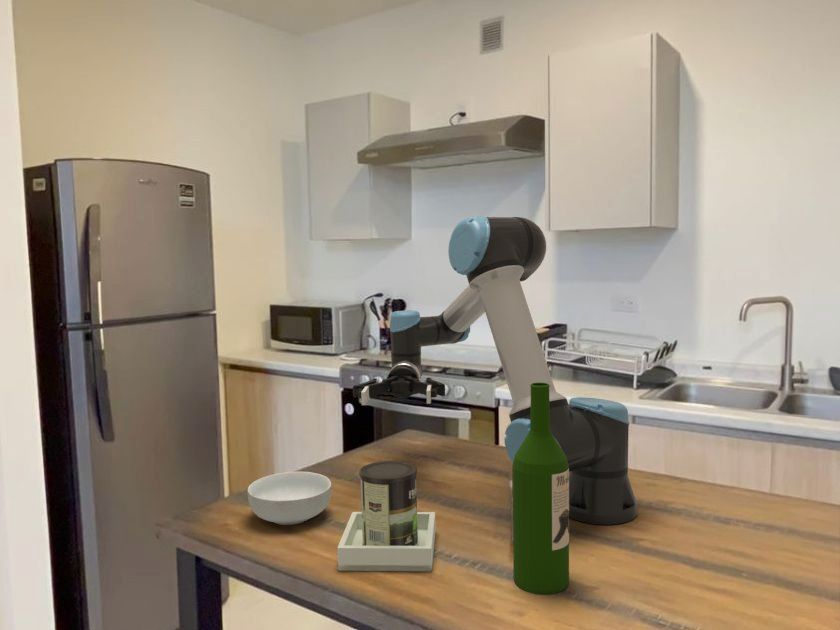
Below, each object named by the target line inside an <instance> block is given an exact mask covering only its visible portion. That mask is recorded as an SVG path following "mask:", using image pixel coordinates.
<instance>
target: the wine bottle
mask: <svg viewBox="0 0 840 630" xmlns="http://www.w3.org/2000/svg"><path fill="white" fill-rule="evenodd" d="M530 386H531V411H530V431H529V433H528V435H527V437H526V438H525V440H524V441H523V443H522V444H521V446H520V448H519V449H518V451H517V452H516V454H515V456H514V461H513V463H512V470H511V471H512V544H513V545H512V548H513V549H512V551H513V552H512V554H513V555H512V556H513V559H512V560H513V561H512V562H513V564H512V565H513V567H512V568H513V580H514V583H515V584H516V586H518V587H519V588H520V589H521V590H523V591H526V592H529V593H533V594H537V595H553V594H557V593H560V592H563V591H564V590H565V589H567V587H568V585H569V583H570V517H569V466H568V461H567V457H566V455H565V454H564V452H563V450H562V449H561V447H560V446H559V444H558V443H557V441H556V439H555V438H554V436H553V435H552V433H551V430H550V399H549V387H550V385H549V384H547V383H532V384H531V385H530Z"/></svg>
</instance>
